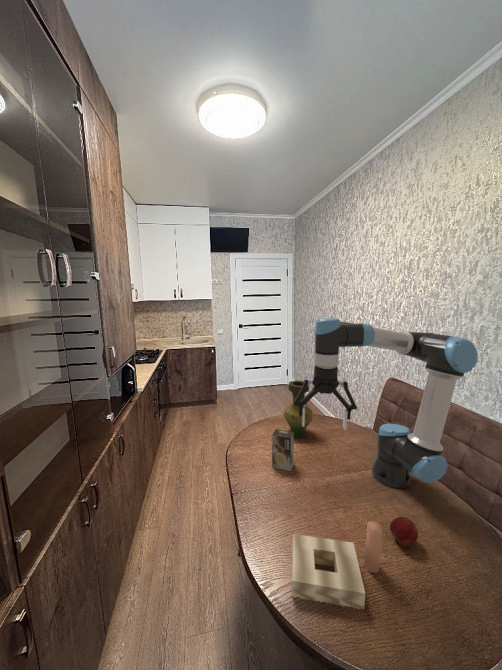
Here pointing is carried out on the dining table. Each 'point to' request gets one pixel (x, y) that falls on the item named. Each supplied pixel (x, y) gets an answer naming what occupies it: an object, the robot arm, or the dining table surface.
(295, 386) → the vase
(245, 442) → the dining table surface
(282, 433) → the coffee box
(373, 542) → the peg
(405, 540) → the apple
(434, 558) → the dining table surface
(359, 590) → the socket block
